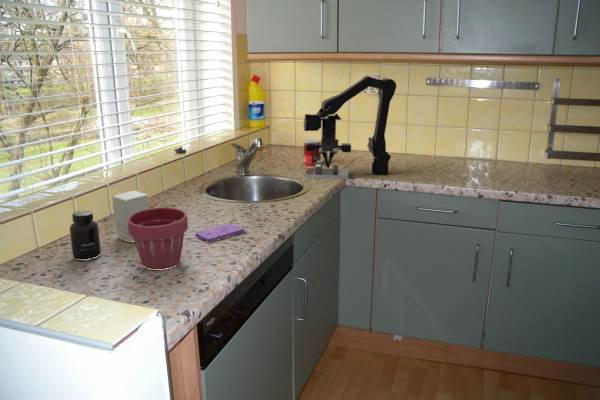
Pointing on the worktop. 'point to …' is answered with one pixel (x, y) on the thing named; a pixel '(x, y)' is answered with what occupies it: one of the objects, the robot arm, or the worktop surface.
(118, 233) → the supplement box
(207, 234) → the sponges
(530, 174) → the worktop surface
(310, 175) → the breaker panel
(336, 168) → the breaker handle
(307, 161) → the canned food
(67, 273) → the worktop surface
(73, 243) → the supplement bottle
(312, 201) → the worktop surface
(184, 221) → the plant pot
